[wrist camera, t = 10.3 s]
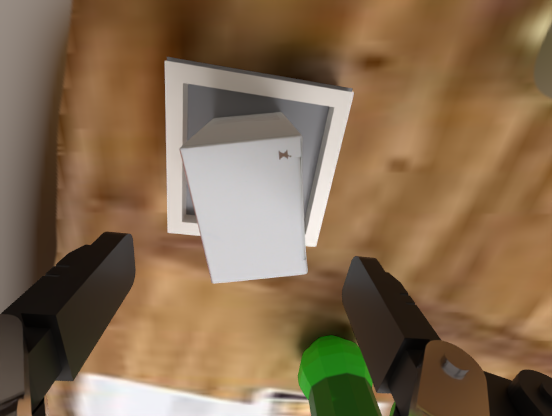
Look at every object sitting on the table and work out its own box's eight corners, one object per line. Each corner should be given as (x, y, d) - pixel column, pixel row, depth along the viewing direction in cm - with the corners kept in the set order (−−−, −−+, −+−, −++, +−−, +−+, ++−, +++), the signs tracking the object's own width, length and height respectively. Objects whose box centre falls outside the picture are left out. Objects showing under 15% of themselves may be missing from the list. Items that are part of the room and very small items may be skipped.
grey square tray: (181, 61, 23) (159, 54, 18) (338, 88, 24) (359, 88, 19) (180, 209, 28) (164, 235, 23) (308, 222, 30) (318, 249, 25)
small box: (212, 116, 21) (174, 142, 11) (283, 110, 21) (303, 130, 12) (228, 208, 24) (209, 287, 15) (289, 202, 24) (308, 277, 15)
